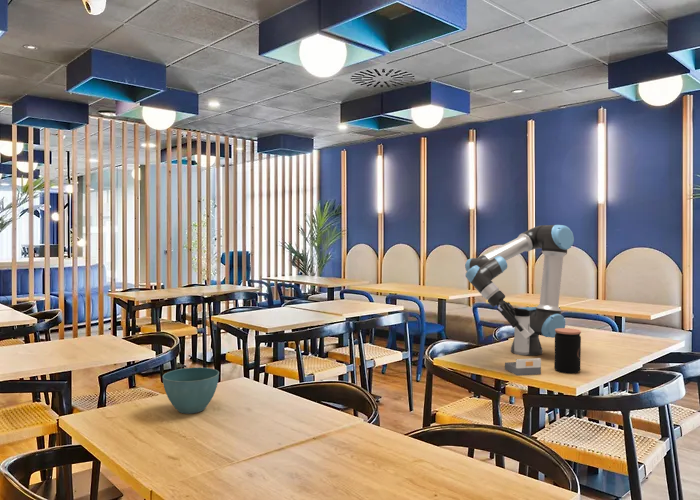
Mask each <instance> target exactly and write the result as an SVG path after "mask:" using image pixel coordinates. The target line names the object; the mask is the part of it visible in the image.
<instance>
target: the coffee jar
mask: <svg viewBox="0 0 700 500" xmlns="http://www.w3.org/2000/svg"><path fill="white" fill-rule="evenodd" d="M555 332H556V334H555V338H554V362H553V363H554V366H553V367H554V369H555V371H556V372H557V373H558V372H559V373H561V374H568V375H571V374H572V375H574V374H575V375H576V374H578V373H580V371H581V353H582V351H581V350H582V349H581V348H582V346H581V345H582V337H581V333H582V331H581V330H580V329H577V328H568V327H565V328H558V329H555Z"/></svg>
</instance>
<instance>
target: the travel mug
mask: <svg viewBox="0 0 700 500" xmlns="http://www.w3.org/2000/svg"><path fill="white" fill-rule="evenodd" d="M513 308H514V310H515V318H516V320H517V321H518V322H519V323H521V324H522V325H523V327H524V328H525V329H526V330H527V331H528V332H529V333H530V310H529V311H528V310H526V309H520V308H521V307H513ZM515 327H516V326H515ZM515 327H514V331H513V332H514V333H513V334H514V338H513V340H514V353H513V354H515V355H518V356H529V355H528V354H529V336H528V337H527V338H526V339H525V337H524V336H523V335H522V334H521V333H520V332H519V331H518V330H517V329H516V328H515Z"/></svg>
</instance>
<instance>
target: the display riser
mask: <svg viewBox="0 0 700 500" xmlns="http://www.w3.org/2000/svg"><path fill="white" fill-rule="evenodd" d="M504 370H505V371H507V370H508V371H507V372H510V373H511V374H513V375H516V376H518V377H519V376H534V375H536V376H537V375H542V358H540V357H537V358H520V359H515V361H510V362H509V361H508V362H504Z"/></svg>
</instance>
